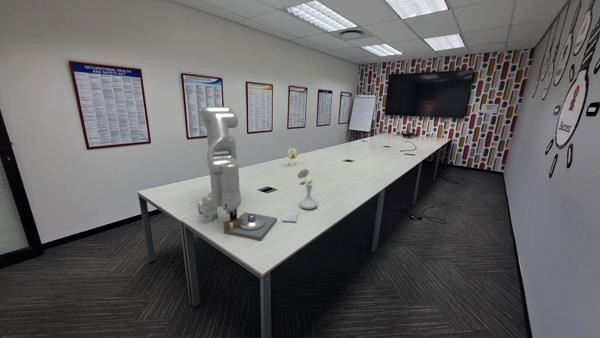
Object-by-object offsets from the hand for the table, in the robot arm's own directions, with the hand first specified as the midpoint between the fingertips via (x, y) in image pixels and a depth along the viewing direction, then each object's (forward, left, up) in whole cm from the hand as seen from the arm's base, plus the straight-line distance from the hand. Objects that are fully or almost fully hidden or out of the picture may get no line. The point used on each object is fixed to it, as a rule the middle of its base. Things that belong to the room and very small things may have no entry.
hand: (233, 220), depth 120 cm
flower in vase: (+29, +37, -5) cm, 47 cm away
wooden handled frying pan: (+6, +2, -2) cm, 6 cm away
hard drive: (+24, +21, -5) cm, 32 cm away
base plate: (+8, +4, -4) cm, 10 cm away
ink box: (-18, +3, -5) cm, 19 cm away
